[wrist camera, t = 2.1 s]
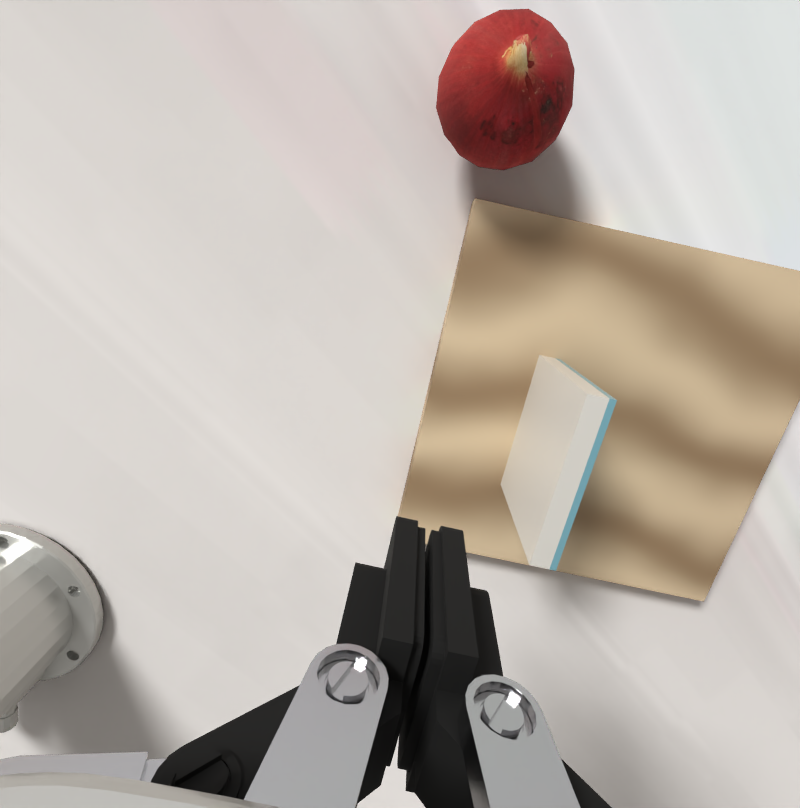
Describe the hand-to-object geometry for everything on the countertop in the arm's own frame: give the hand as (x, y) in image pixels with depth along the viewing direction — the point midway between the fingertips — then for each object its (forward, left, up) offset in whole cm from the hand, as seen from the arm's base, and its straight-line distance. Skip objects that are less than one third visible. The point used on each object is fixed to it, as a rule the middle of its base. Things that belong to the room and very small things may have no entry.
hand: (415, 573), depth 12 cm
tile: (0, -7, -16) cm, 18 cm away
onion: (+15, -1, -18) cm, 23 cm away
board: (+1, -11, -18) cm, 21 cm away
